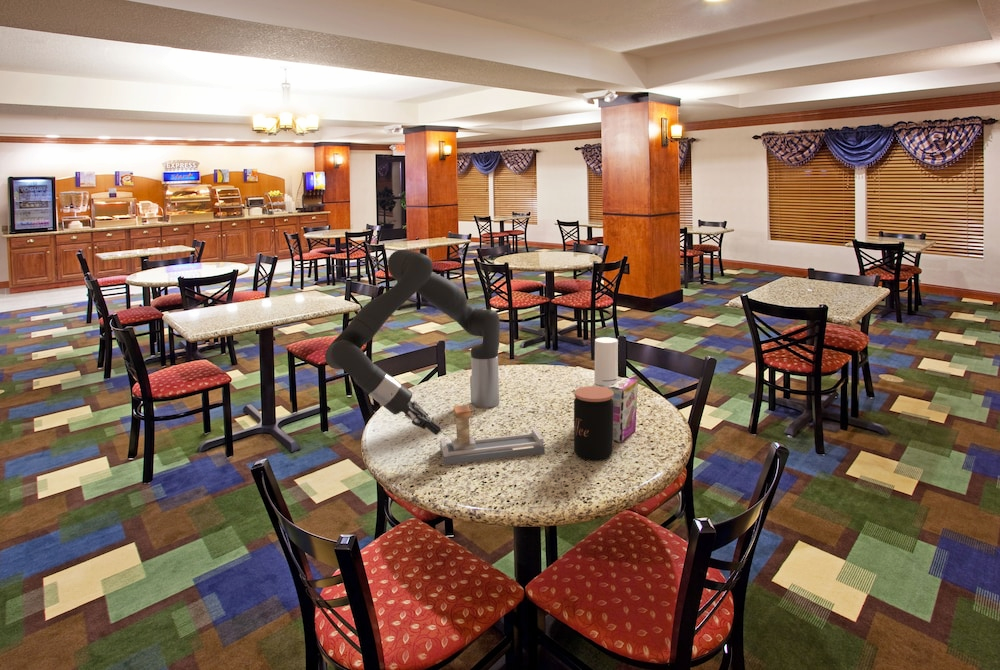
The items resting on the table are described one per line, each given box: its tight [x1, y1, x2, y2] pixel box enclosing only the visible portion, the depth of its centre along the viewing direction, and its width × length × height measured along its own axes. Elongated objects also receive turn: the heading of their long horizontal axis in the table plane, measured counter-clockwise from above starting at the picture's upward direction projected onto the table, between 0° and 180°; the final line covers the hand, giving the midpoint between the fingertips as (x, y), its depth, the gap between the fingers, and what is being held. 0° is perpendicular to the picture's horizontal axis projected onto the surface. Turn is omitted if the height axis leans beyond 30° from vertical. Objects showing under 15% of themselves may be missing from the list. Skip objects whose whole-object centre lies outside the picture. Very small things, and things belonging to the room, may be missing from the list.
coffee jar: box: [573, 385, 614, 462], centre depth 166 cm, size 11×11×18 cm
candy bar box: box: [608, 377, 639, 443], centre depth 178 cm, size 11×5×16 cm, turn 145°
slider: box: [450, 404, 476, 451], centre depth 167 cm, size 6×5×12 cm
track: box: [439, 427, 546, 466], centre depth 170 cm, size 28×10×4 cm, turn 102°
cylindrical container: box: [593, 336, 619, 388], centre depth 193 cm, size 7×7×25 cm
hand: (438, 431), depth 166 cm, fingers closed
